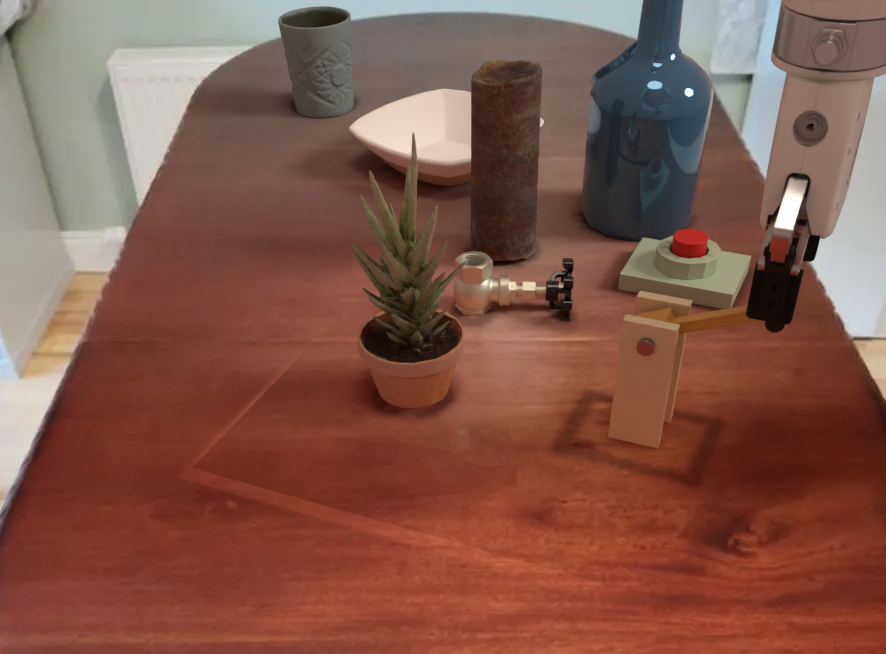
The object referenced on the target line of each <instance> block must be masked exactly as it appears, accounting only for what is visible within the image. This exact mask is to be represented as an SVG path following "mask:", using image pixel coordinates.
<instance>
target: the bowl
mask: <svg viewBox="0 0 886 654" xmlns="http://www.w3.org/2000/svg"><path fill="white" fill-rule="evenodd" d="M544 124H545V120H544V119H543V118H542V117H540V129H541V128H542V127H543V126H544ZM348 131H349V132H350V134H352V136H354V137H355V138H356V139H357V140H358V141H360V143H362V144H363V145H364V146H365V147H367V148H368V149H369V150H370V151H371V152H373V153H374V154H375V155H377V156H378V157H379V158H380V159H381V160H383V161H384V162H385V163H386V164H388V166H390V167H391V168H392V169H394V170H396V171H398V172H399V173H400V174H403V175H404V176H406V174H407V168H408V166H409V167H410V170H411V155H412V134H413V132H414V135H415V142H416V152H417V171H418V175H417V181H421V182H423V183H428V184H432V185H437V186H442V187H453V186H458V185H463V184H464V183H468V182H471V91H467V90H460V89H451V88H439V89H434V90H428V91H423V92H419V93H415V94H413V95H409V96H407V97H404V98H400V99H398V100H394V101H392V102H388V103H386V104H384V105H382V106H380V107H378V108H376V109H373V110H372V111H370V112H367V113H365V114H364V115H362V116H361V117H359V118H358V119H356V120H355V121H354V122H353V123H352V124H350V126H349V127H348Z"/></svg>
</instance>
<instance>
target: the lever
mask: <svg viewBox="0 0 886 654" xmlns="http://www.w3.org/2000/svg"><path fill="white" fill-rule="evenodd" d="M747 305H748V304H744V305H740V306H735V307H731V308H728V309H718V310H712V311H707V312H700V313H695V314H690V315H689V316H684V317H678V318H674V316H673V312H672V309H671V308H666V309H660V310H655V311H649V312H644V313H639V314H638V316H639V317H644V318H649V319H654V320H659V321H664V322H669V323H674V324H679V325H680V329H679V334H684V333H687V334H689V333H695V332H701V331H706V330H713V329H718V328H724V327H730V326H737V325H743V324H747V323H754V322H761V320H755V319H750V318H748V317H747V316H746V310H747ZM785 326H786V325H784V324H778V323H773V322H767V321H764V327H765V329H766V330H767V331H768V332H770V333H773V334H774V333H777V334H778V333H780V332H781V331H783V330H784V328H785Z"/></svg>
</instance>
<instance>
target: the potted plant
mask: <svg viewBox="0 0 886 654" xmlns="http://www.w3.org/2000/svg"><path fill="white" fill-rule="evenodd" d="M417 175H418V171H417V152H416V142H415V135H414V132H413V134H412V155H411V170H410V167H409V166H408V168H407V174H406V175H405V183H404V193H403V202H402V203H401V201H400V202H399V209H398V223H397V219H396V215H395V211H394V208H393V206H392V204H391V202H388V204H387V201H386V199H385V197H384V195H383V193H382V190H381V189H380V187H379V184H378V183H377V180H376V179H375V175H374V173H373V172H372V171H371V170H370V169H368V176H369V183H370V187H371V191H372V194H373V197H374V201H375V205H376V208H377V211H378V215H379V217H380V219H381V222H382V225H383V226H382V225H381V224H380V221H379V220H378V219H377V217H376V216H375V214H374V212H373V210H372V209H371V207H370V205H369V204H368V202H367V201H366V198H365V195H364V194H360V201H361V205H362V209H363V212H364V214H365V218H366V220H367V223H368V224H369V227H370V230H371V232H372V235H373V236H374V239H375V240H376V242H377V246H378V247H379V249H380V251H381V254H382V255H378V260H379V263H378V262H377V261H376V260H375V259H373V258H372V257H370V256H369V255H368V254H367V253H365V251H363V250H362V249H361V248H360V247H359V246H358V245H356V244H355V243H354V242H352V244H351V245H352V248H351V250H352V251H353V253H354V254H353V255H354V256H355V259H356V260H357V262H358V264H359V265H360V267H361V269H362V271H364V273H365V275H366V276H367V278H368V279H369V280H370V282H371V283H372V285H373V286H374V288H375V289H376V290H377V291H378V293H379V295H380V296H377V295H376V294H375V293H373V292H371V291H369V290H368V289H367V288H365V287H362V288H361V289H362V291H363V292H364V293H365V294H366V296H368V300H369V301H370V302H371V303H372V304H373V305H374V306H375V307H376V308H377V309H379V310H381V311H379V312H377V313H376V314H373V315H372V316H370V317H367V319H366V320H364V322H363V323H362V324H361V326H360V327H359V329H358V332H357V335H356V340H357V348H358V353H359V355H360V358H361V360H362V361H363V363H364V364H365V365H366V366H367V367H368V370H369V371H370V375H371V376H372V379H373V382H374V385H375V387H376V390H377V392H378V395H379V397H380V398H381V399H382V400H383V401H384V402H385V403H387V404H389V405H392V406H394V407H397V408H402V409H421V408H422V409H423V408H427V407H430V406H434V405H435V404H437V403H438V402H440V401H441V400H443V399H444V398H445V397H446V395H447V394H448V392H449V389H450V384H451V380H452V377H453V375H454V372H455V370H456V369H455V368H456V367H457V366H456V365H457V363H458V361H459V360H460V359H461V358H462V356H463V355H464V350H465V330H464V327H463V325H462V323H461V322H460V320H459V319H458V318H457V317H456V316H454V315H453V314H451V313H449V312H448V311H447V310H446V309H443V310H442V309H439V308H440V306H441V302H440V300H441V298H442V296H443V295H444V293H445V290H446V288H447V286H448V285H449V284H451V282H452V281H453V279H454V278H456V277H457V276H456V275H457V273H458V272H459V271H460V270H461V269H462V267H463V266H464V264H465V262H466V261H465V262H463V263H462V264H461V265H460V266H459V267H458V268H457V269H456V270H455V269H454V270H453V271H452V272H451V273H450V274H449V275H448V276H447V277H446V274H447V273H446V271H444V272H442V273H441V274H439V276H437V278H435V279H434V280H433V279H432V278H433V276H434V274H435V273H436V271H437V270H438V268H439V265H440V263H441V261H442V258H443V257H444V254H445V252H446V250H447V246H448V240H449V239H445V241H444V242H443V244H442V245H441V246H440V247H439V249H438V251H437V252H436V253H435V255H434V256H433V257H432V258H431V259H430V260H429V261H428V258H429V254H430V250H431V246H432V242H433V236H434V233H435V229H436V225H437V224H436V223H437V220H438V206H437V205H436V206H435V207H434V208H433V210H432V213H431V214H430V216H429V219H428V221H427V223H426V225H425V227H424V228H423V230H422V232H421V234H419V236H418V238H417V239H416V236H417V235H416V234H417V206H418V205H417V204H418V203H417V202H418V193H417V192H418V189H417V188H418V180H417ZM383 227H384V228H383ZM427 261H428V262H427ZM445 277H446V278H445Z"/></svg>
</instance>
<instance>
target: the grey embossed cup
mask: <svg viewBox="0 0 886 654" xmlns="http://www.w3.org/2000/svg"><path fill="white" fill-rule="evenodd" d="M277 24H278V28H279V33H280V37H281V42H282V45H283V49H284V57H285V59H286V65H287V69H288V75H289V79H290V82H291V84H292V85H291V91H292V96H293V101H294V100H295V101H294V107H295V110H296V111H297V113H298V114H300V116H301V115H302V116H303V117H308V118H314V119H328V118H334V117H335V118H336V117H339V116H343V115H346V114H347V113H349V112H351V111H352V110H353V109H354V105H355V94H354V79H353V78H354V69H353V67H354V64H353V63H354V62H353V61H354V60H353V56H352V48H353V47H352V15H351V12H349V11H348V10H346V9H344V8H340V7H336V6H329V5H328V6H324V5H323V6H322V5H321V6H308V7H307V6H306V7H301V8H296V9H292V10H289V11H286V12H285V13H283V14H281V15H280V16H279V17H278V20H277ZM296 102H297V103H296Z"/></svg>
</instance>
